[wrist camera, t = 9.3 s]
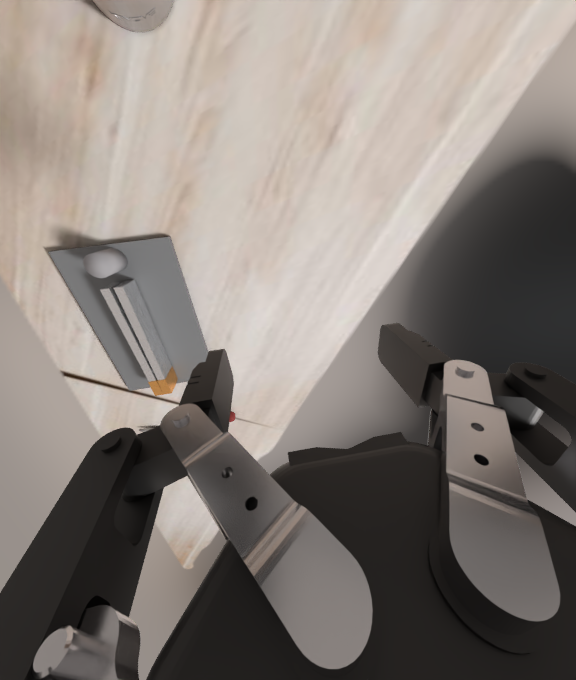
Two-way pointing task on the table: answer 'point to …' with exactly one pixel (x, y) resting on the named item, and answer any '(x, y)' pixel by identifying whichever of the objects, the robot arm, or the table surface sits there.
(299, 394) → the table surface
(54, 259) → the mat
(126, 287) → the leg
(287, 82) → the table surface
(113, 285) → the leg
